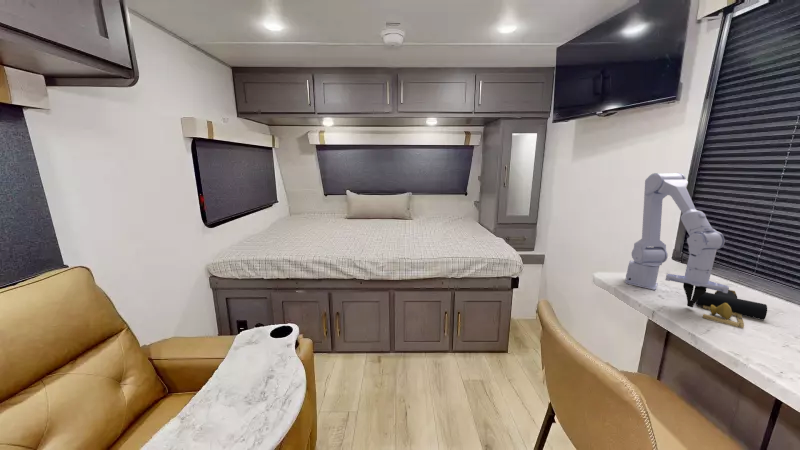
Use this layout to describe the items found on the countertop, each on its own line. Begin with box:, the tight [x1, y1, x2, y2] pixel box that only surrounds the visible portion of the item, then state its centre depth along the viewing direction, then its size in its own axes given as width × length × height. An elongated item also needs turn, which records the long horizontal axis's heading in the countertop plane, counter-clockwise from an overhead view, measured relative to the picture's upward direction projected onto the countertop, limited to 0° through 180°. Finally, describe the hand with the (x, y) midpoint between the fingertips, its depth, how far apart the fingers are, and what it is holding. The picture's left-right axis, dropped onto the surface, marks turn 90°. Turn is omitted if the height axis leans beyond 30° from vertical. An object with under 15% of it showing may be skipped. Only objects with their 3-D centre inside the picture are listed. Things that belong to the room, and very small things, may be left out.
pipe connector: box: [695, 289, 768, 321], centre depth 99 cm, size 12×5×15 cm
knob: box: [709, 303, 732, 320], centre depth 93 cm, size 5×5×5 cm
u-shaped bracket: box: [702, 305, 745, 329], centre depth 93 cm, size 8×10×1 cm
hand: (690, 305), depth 98 cm, fingers closed
